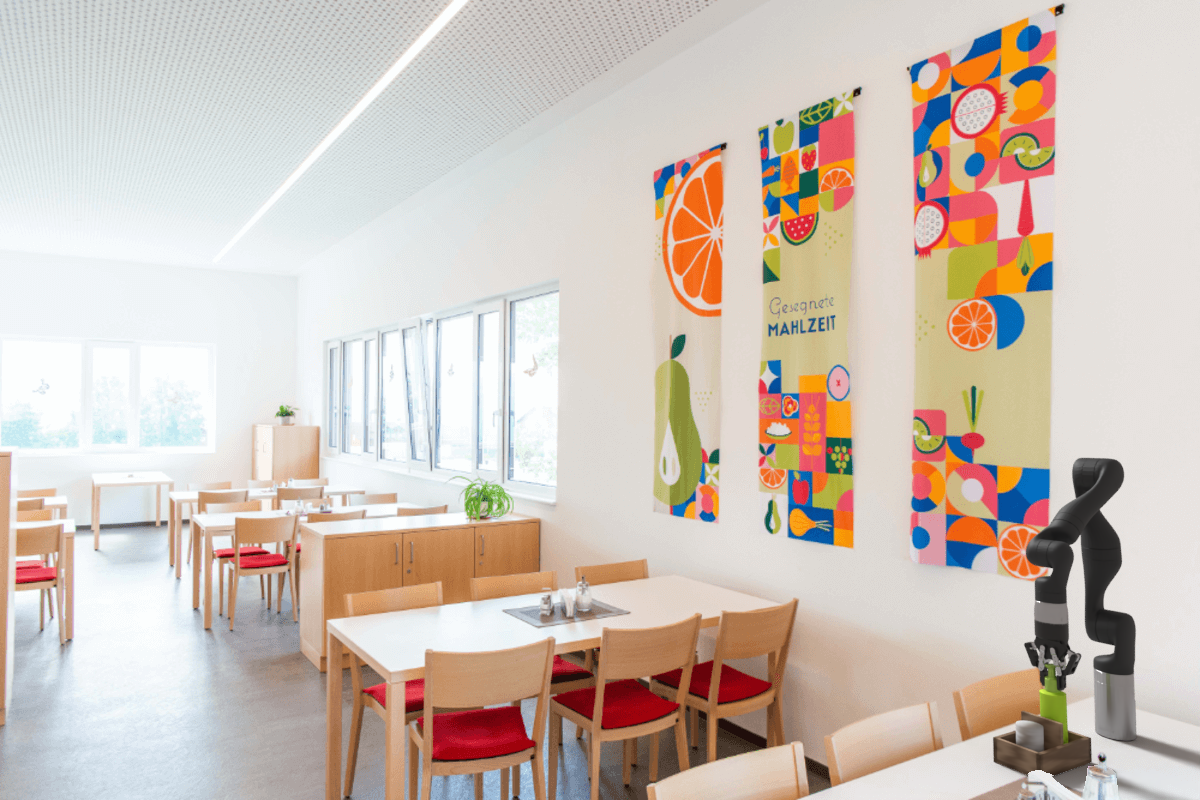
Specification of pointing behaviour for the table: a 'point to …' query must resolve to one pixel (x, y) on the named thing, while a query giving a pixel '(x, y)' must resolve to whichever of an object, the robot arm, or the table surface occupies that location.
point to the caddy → (1041, 747)
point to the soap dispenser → (1054, 701)
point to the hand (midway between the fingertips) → (1052, 687)
